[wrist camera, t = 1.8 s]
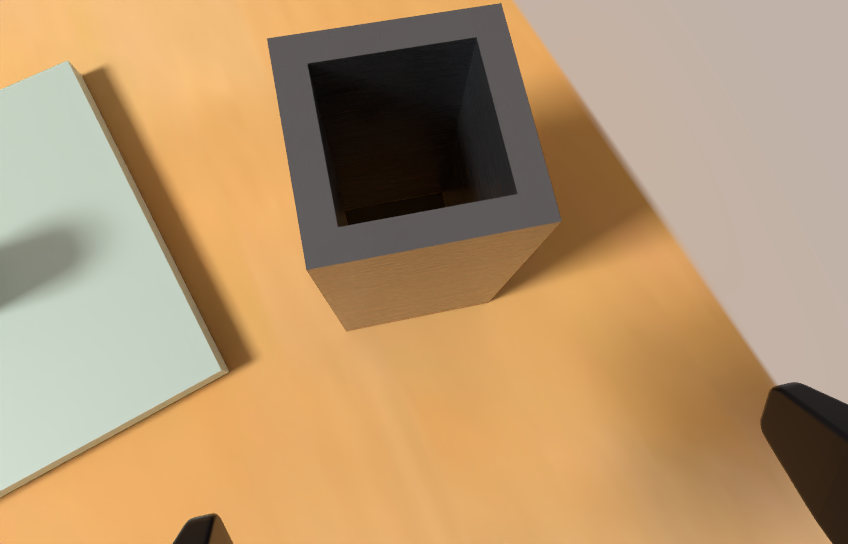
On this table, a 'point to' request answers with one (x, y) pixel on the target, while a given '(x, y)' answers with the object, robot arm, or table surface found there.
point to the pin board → (82, 286)
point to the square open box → (412, 161)
